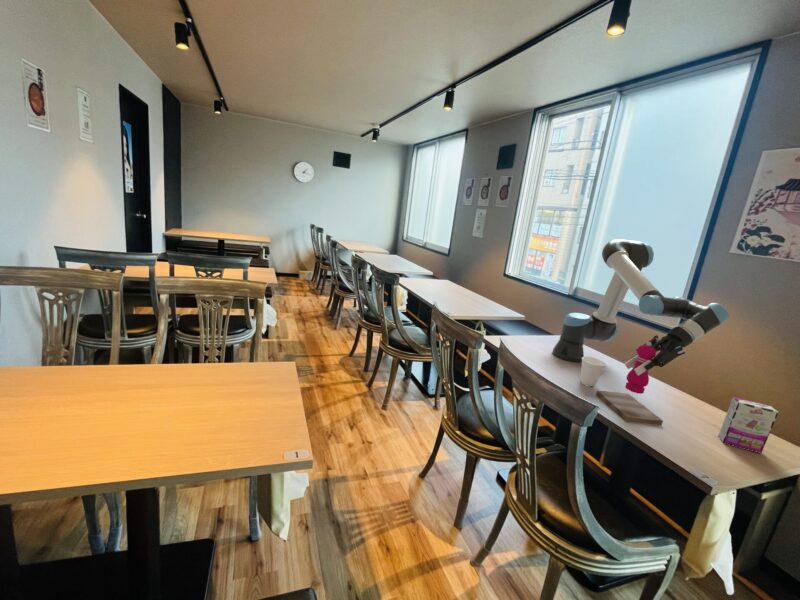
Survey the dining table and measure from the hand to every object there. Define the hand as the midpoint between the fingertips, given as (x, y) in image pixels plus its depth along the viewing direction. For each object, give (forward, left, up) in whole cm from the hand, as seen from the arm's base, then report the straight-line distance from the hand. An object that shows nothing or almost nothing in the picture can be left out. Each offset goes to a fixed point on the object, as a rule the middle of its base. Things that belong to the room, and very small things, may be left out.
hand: (631, 369), depth 141 cm
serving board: (0, +4, -17) cm, 17 cm away
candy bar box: (+18, +34, -17) cm, 42 cm away
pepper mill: (0, +4, -8) cm, 9 cm away
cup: (-20, -1, -17) cm, 27 cm away
